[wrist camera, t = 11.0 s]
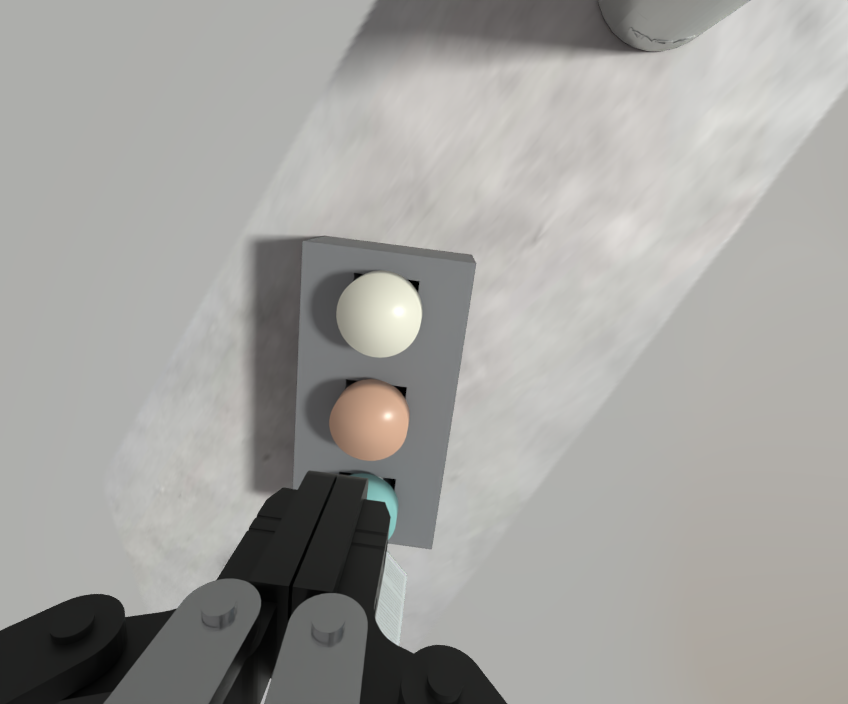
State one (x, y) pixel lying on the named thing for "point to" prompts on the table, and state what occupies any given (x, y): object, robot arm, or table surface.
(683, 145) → the table surface
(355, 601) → the robot arm
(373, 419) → the knob mid
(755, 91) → the table surface
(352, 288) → the knob
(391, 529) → the knob
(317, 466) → the mount
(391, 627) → the skincare box
